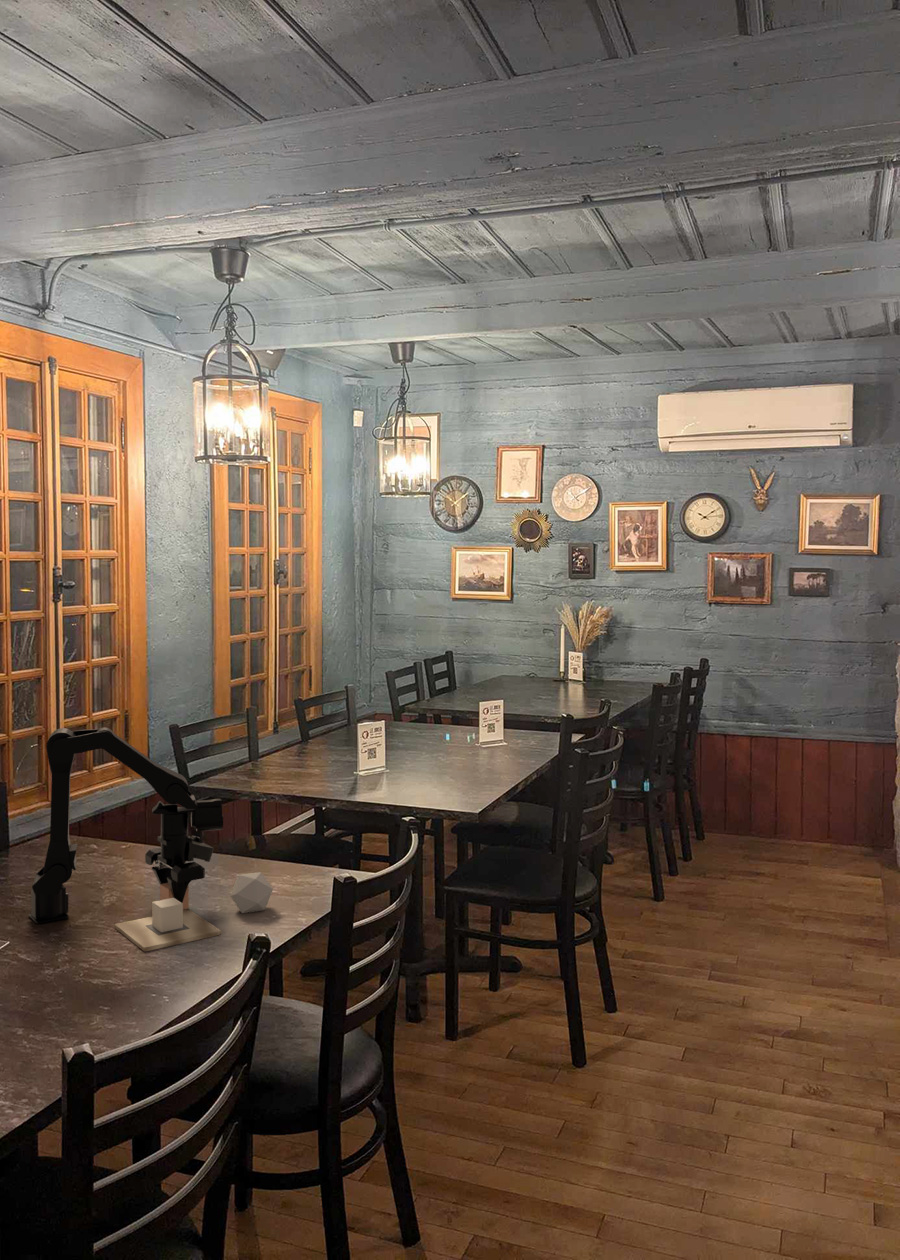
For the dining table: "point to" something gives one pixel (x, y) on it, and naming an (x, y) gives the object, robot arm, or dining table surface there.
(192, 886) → the dining table surface
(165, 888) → the terracotta block
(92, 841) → the dining table surface
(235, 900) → the die
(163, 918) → the cream block
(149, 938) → the tan board
